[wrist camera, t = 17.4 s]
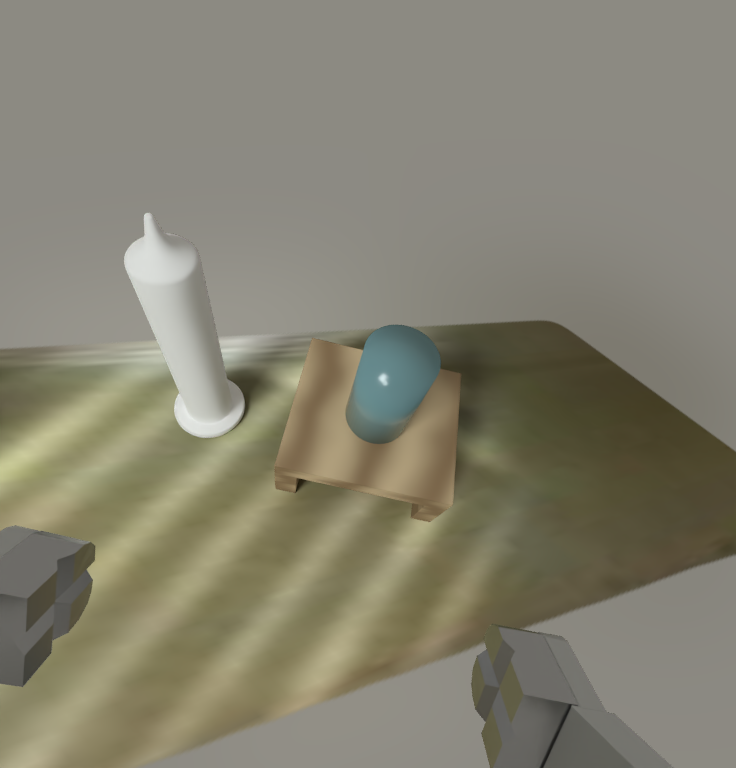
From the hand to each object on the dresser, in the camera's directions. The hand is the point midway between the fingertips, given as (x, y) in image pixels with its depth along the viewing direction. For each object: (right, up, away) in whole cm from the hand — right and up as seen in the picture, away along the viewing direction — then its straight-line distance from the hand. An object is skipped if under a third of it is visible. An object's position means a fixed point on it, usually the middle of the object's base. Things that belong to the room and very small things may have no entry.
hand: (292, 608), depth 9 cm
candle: (-15, +2, +37) cm, 40 cm away
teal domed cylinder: (+2, +2, +32) cm, 32 cm away
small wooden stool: (+1, -2, +38) cm, 38 cm away
